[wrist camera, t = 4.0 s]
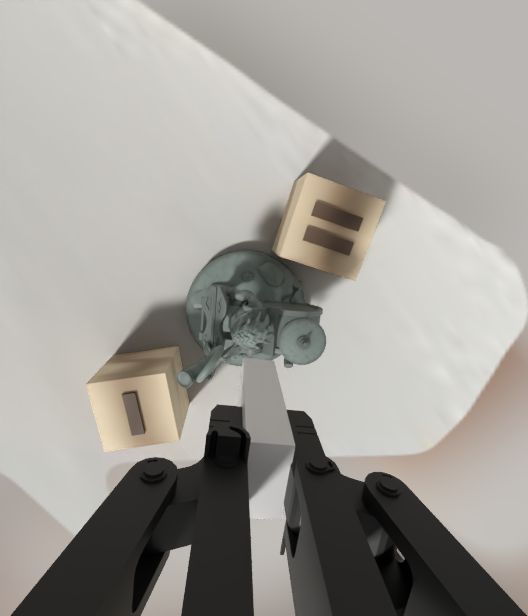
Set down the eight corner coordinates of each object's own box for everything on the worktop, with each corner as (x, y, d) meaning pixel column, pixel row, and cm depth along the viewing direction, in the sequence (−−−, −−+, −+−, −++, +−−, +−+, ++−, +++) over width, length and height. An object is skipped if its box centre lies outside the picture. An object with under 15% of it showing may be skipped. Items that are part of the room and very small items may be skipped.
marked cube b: (271, 250, 30) (279, 256, 24) (293, 182, 29) (308, 171, 23) (333, 270, 31) (356, 281, 25) (357, 205, 30) (387, 201, 24)
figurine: (190, 245, 30) (159, 259, 18) (311, 256, 31) (355, 276, 19) (185, 358, 32) (155, 434, 21) (297, 365, 33) (328, 441, 22)
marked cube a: (128, 411, 33) (103, 453, 27) (113, 354, 32) (84, 385, 26) (189, 403, 33) (178, 442, 27) (178, 345, 32) (164, 374, 26)
